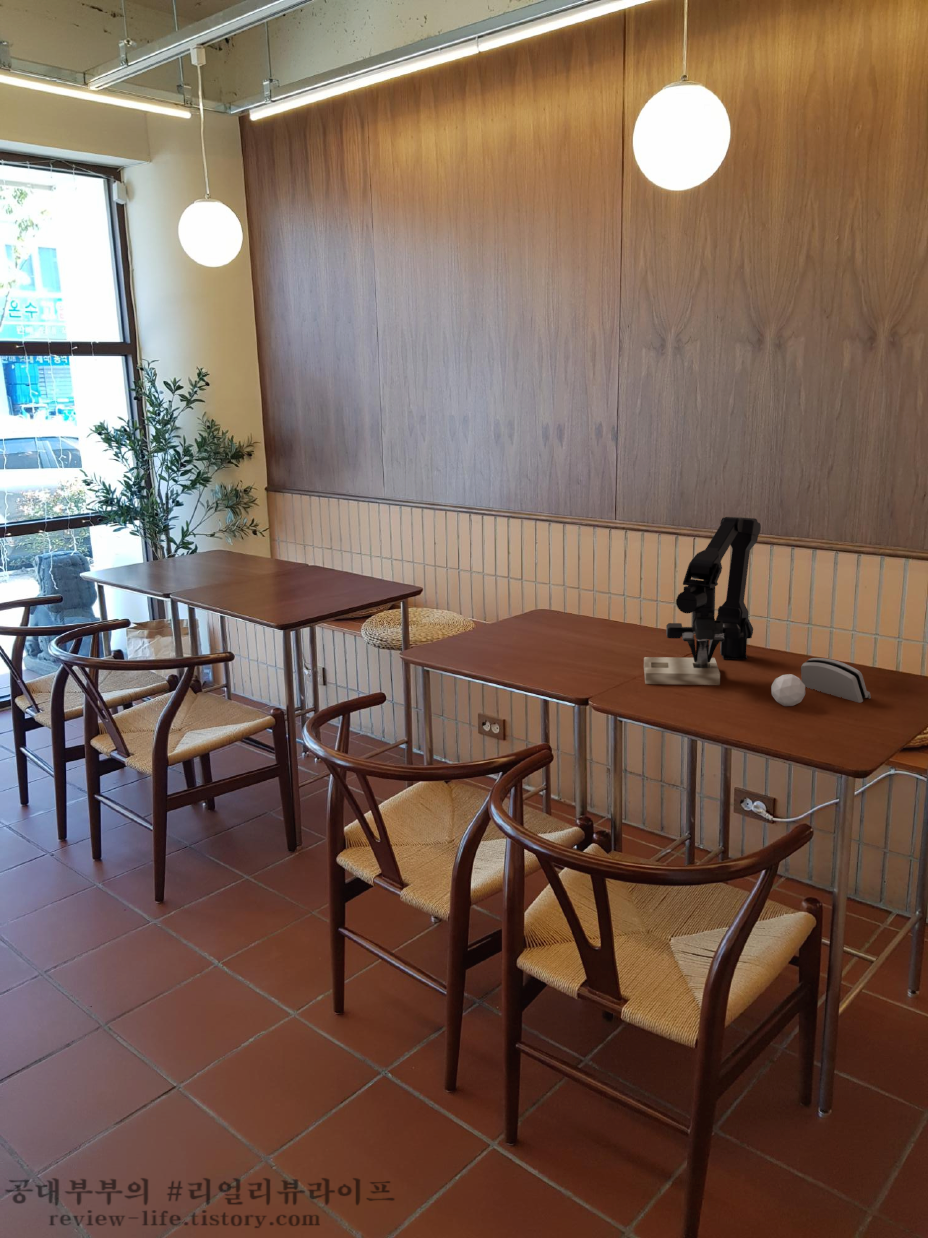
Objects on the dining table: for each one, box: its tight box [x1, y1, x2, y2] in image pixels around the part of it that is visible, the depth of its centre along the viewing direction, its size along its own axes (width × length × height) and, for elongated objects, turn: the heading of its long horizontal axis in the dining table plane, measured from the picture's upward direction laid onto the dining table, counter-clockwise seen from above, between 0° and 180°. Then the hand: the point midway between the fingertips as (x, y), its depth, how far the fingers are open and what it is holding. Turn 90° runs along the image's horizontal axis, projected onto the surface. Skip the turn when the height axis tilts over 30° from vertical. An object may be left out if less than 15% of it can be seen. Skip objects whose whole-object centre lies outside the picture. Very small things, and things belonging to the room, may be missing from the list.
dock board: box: [643, 656, 721, 686], centre depth 251 cm, size 19×14×3 cm
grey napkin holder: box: [800, 657, 872, 704], centre depth 233 cm, size 17×5×10 cm, turn 35°
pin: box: [695, 639, 710, 668], centre depth 249 cm, size 3×3×10 cm
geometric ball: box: [770, 673, 806, 707], centre depth 226 cm, size 8×8×8 cm
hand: (702, 661), depth 249 cm, fingers closed on pin, 3 cm apart
